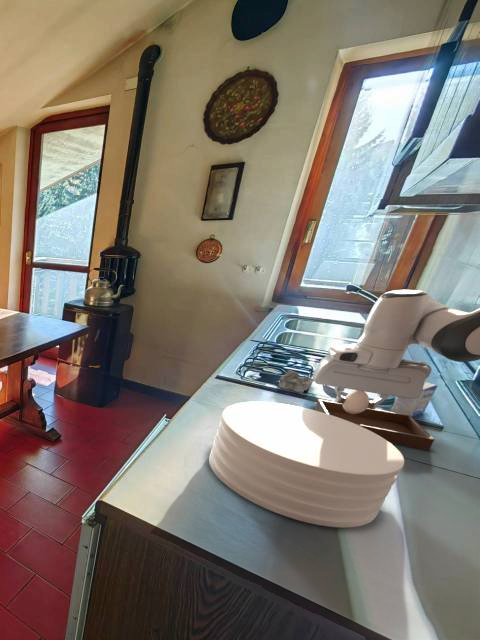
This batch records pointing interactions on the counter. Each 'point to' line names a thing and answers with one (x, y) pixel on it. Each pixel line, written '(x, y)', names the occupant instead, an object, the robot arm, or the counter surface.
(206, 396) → the counter surface
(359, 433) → the plate stack
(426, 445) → the tray
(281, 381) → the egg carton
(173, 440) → the counter surface
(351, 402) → the egg
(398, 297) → the robot arm
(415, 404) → the medicine box
